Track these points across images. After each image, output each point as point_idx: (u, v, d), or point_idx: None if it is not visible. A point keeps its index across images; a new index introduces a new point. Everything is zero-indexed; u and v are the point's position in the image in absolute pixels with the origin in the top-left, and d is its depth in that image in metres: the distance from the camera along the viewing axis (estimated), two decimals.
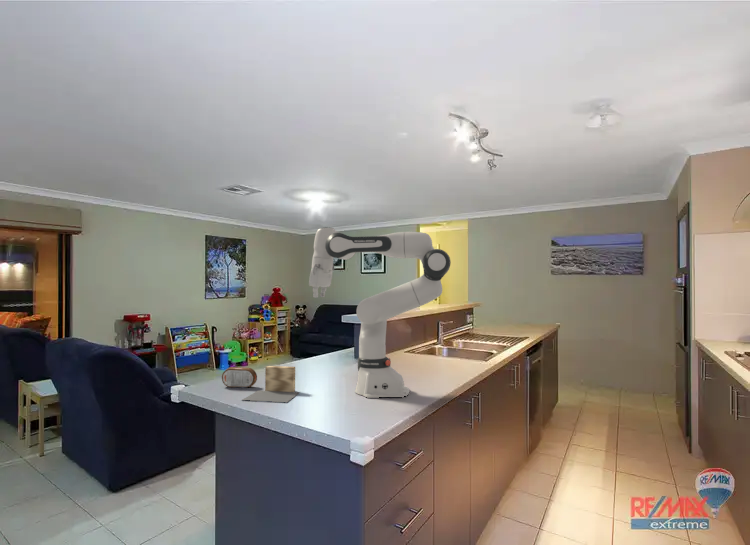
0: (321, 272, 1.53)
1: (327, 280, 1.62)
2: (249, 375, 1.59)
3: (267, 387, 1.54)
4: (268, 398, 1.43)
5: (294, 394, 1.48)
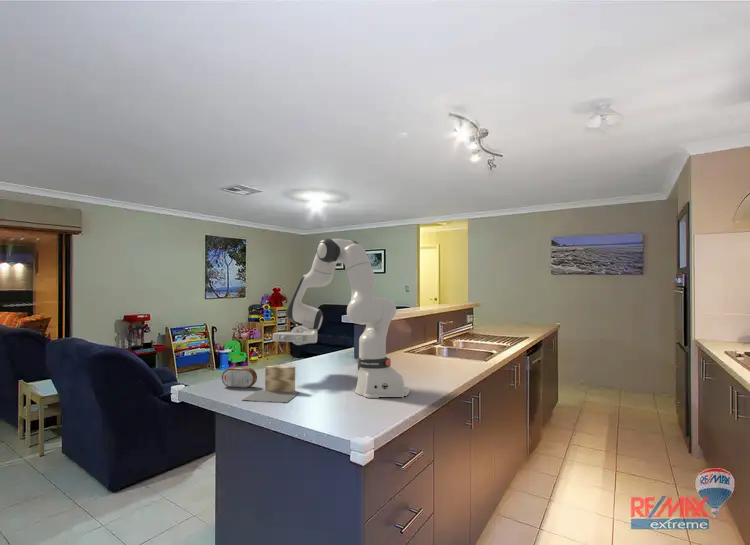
0: (285, 332, 1.76)
1: (302, 333, 1.71)
2: (249, 375, 1.59)
3: (267, 387, 1.54)
4: (268, 398, 1.43)
5: (294, 394, 1.48)
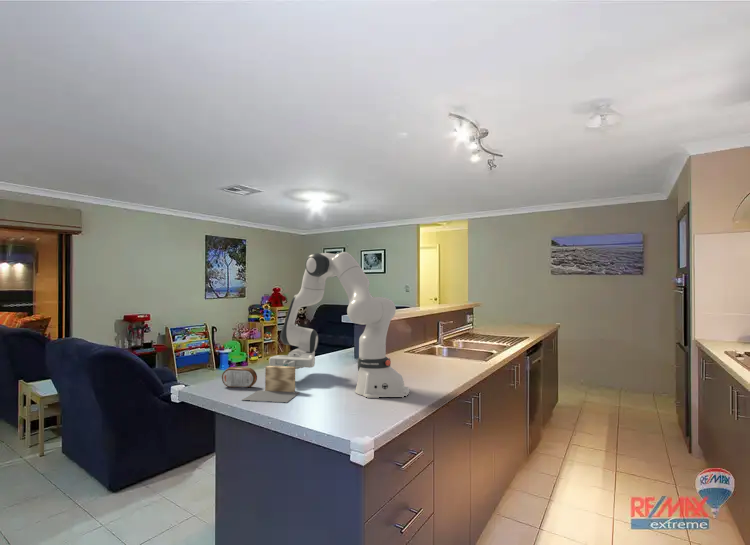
0: (282, 355, 1.72)
1: (299, 357, 1.68)
2: (249, 375, 1.59)
3: (267, 387, 1.54)
4: (268, 398, 1.43)
5: (294, 394, 1.48)
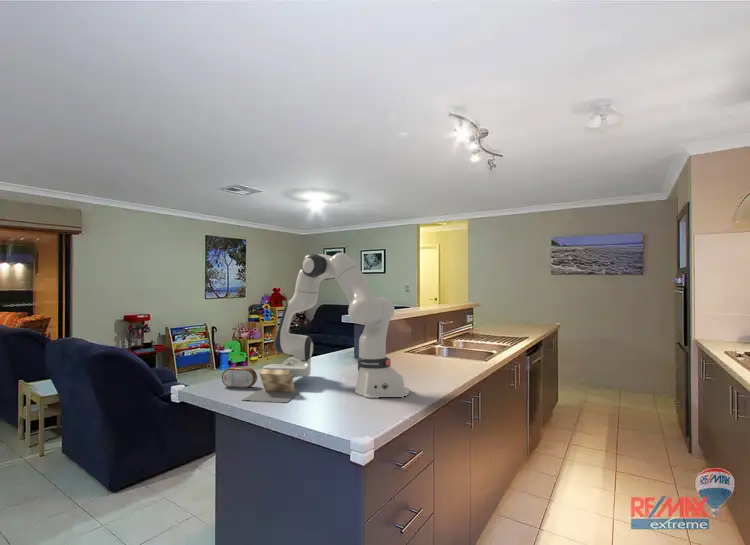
0: (277, 364, 1.65)
1: (294, 366, 1.61)
2: (249, 375, 1.59)
3: (266, 388, 1.53)
4: (268, 398, 1.43)
5: (294, 394, 1.48)
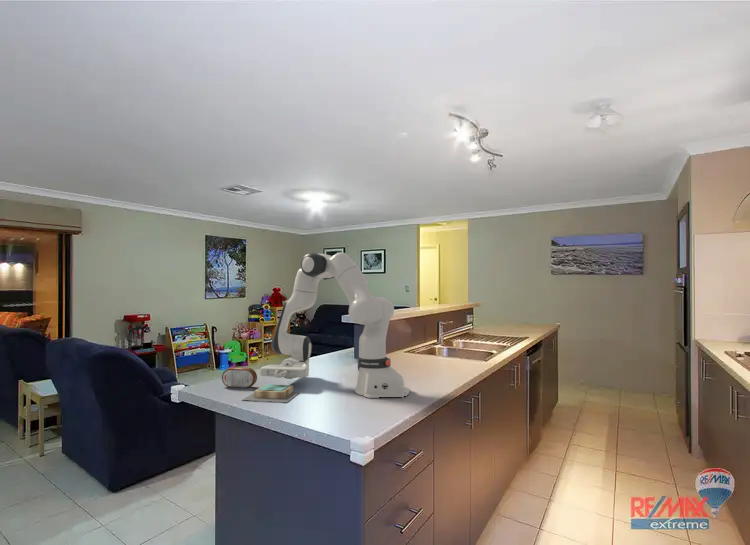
0: (274, 365, 1.63)
1: (292, 367, 1.59)
2: (249, 375, 1.59)
3: None
4: (268, 398, 1.43)
5: (294, 394, 1.48)
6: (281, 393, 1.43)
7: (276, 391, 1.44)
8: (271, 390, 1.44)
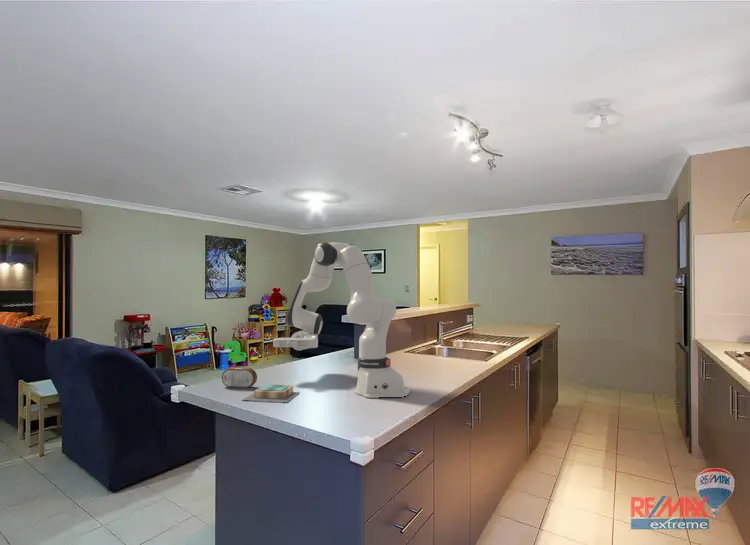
0: None
1: (303, 338, 1.71)
2: (249, 375, 1.59)
3: None
4: (268, 398, 1.43)
5: (294, 394, 1.48)
6: (281, 393, 1.43)
7: (276, 391, 1.44)
8: (271, 390, 1.44)
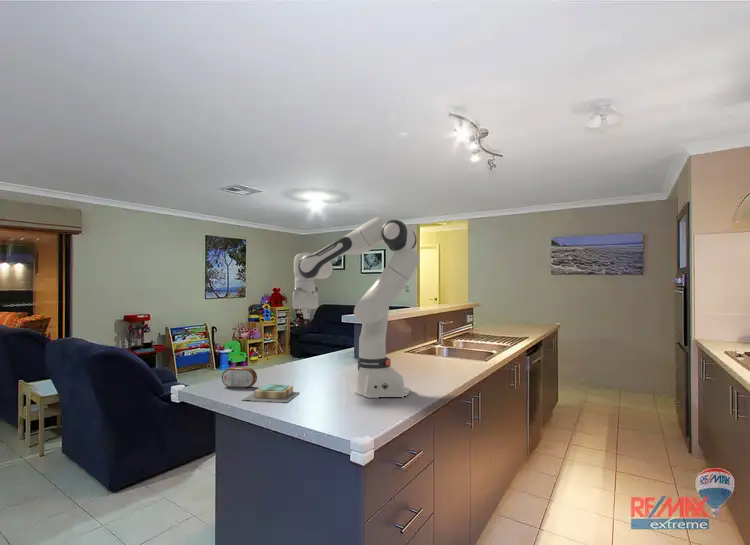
0: (303, 294, 1.63)
1: (312, 301, 1.72)
2: (249, 375, 1.59)
3: None
4: (268, 398, 1.43)
5: (294, 394, 1.48)
6: (281, 393, 1.43)
7: (276, 391, 1.44)
8: (271, 390, 1.44)
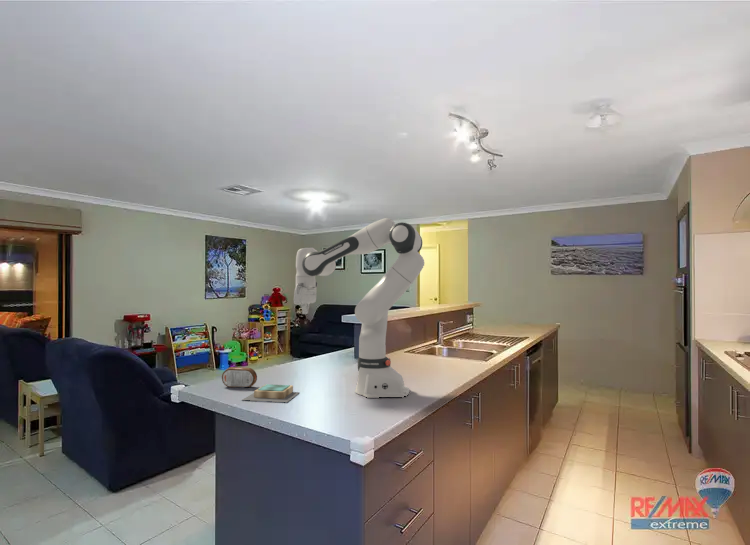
0: (304, 290, 1.62)
1: (311, 296, 1.71)
2: (249, 375, 1.59)
3: None
4: (268, 398, 1.43)
5: (294, 394, 1.48)
6: (281, 393, 1.43)
7: (276, 391, 1.44)
8: (271, 390, 1.44)
